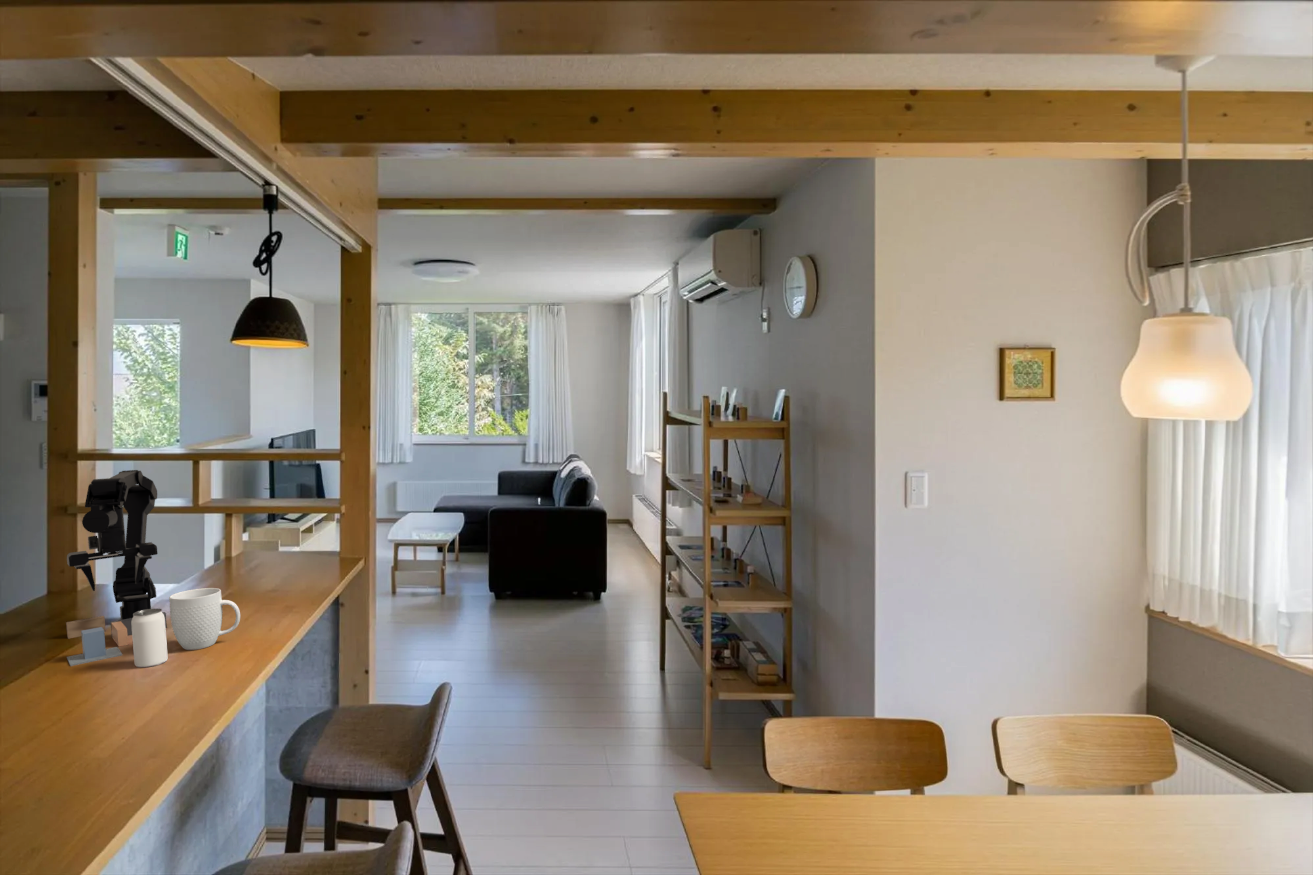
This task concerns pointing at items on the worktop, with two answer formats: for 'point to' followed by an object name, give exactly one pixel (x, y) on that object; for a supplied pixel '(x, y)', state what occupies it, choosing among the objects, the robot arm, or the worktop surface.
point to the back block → (84, 626)
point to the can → (149, 638)
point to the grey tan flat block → (124, 630)
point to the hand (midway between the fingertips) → (115, 587)
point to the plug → (93, 643)
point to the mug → (199, 617)
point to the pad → (80, 658)
